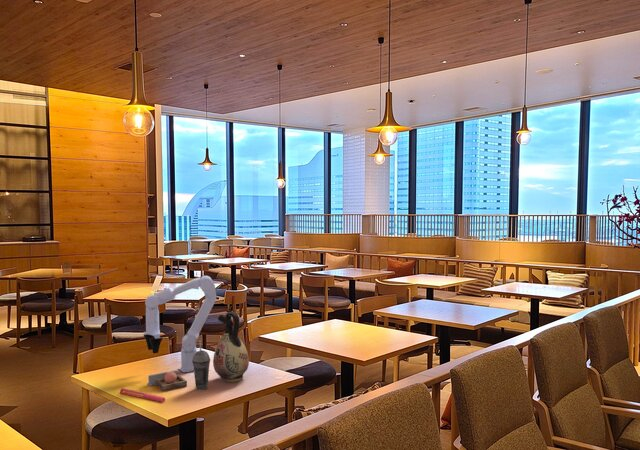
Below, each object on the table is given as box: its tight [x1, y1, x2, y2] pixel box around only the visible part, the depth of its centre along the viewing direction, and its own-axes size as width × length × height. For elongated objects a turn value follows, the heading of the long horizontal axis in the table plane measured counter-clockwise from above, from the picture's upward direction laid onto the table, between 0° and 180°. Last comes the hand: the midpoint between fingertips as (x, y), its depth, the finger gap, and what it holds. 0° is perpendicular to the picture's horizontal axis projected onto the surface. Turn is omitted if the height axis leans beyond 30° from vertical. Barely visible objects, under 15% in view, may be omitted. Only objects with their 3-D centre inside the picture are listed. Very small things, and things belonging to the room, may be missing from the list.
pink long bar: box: [120, 388, 166, 403], centre depth 193 cm, size 24×2×5 cm
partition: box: [147, 369, 178, 387], centre depth 210 cm, size 12×3×4 cm, turn 124°
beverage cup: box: [192, 339, 211, 391], centre depth 201 cm, size 7×7×20 cm
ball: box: [164, 371, 177, 384], centre depth 205 cm, size 5×5×5 cm
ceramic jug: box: [212, 311, 250, 383], centre depth 212 cm, size 17×15×30 cm
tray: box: [155, 374, 188, 392], centre depth 206 cm, size 10×10×2 cm
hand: (153, 351), depth 224 cm, fingers open, 7 cm apart
